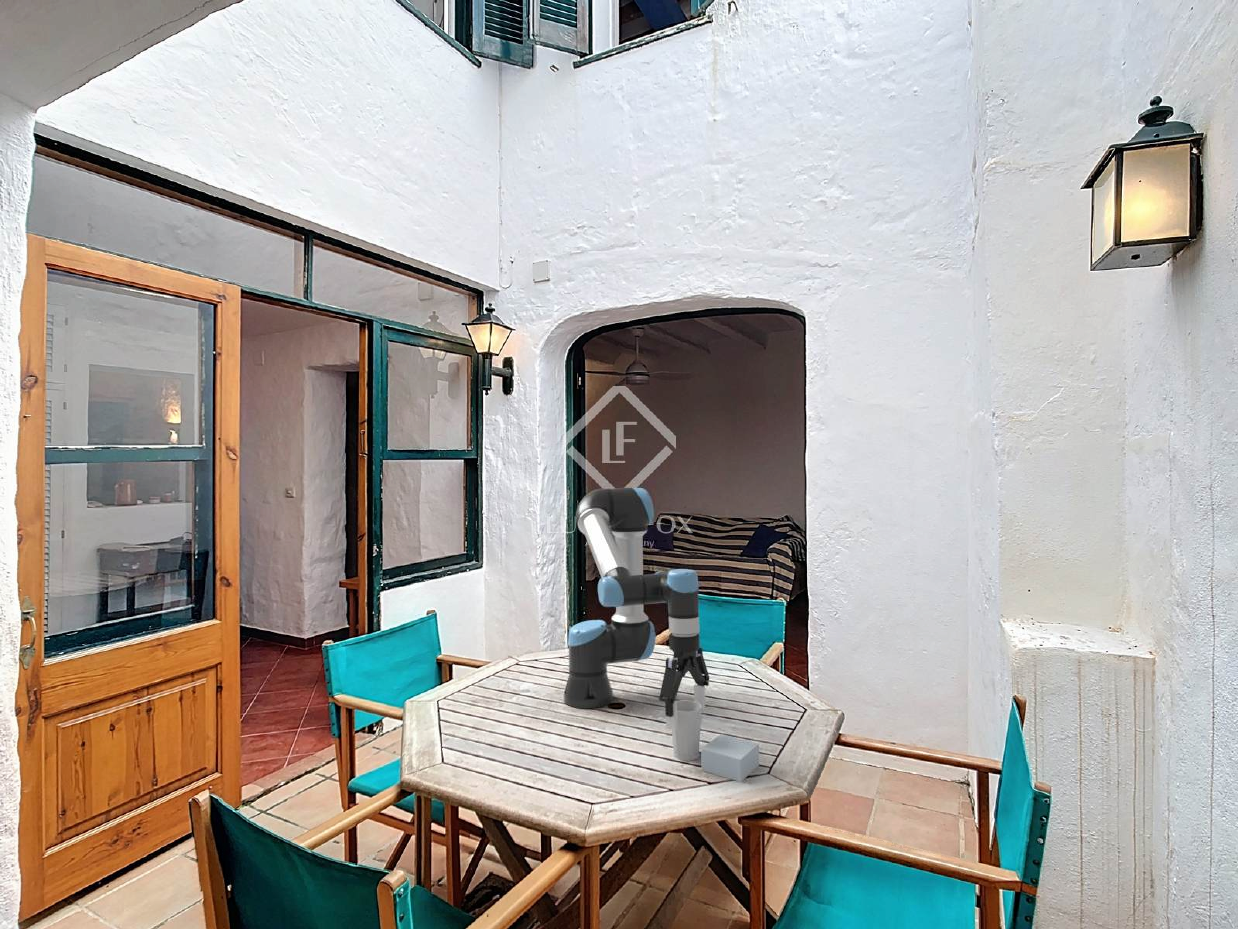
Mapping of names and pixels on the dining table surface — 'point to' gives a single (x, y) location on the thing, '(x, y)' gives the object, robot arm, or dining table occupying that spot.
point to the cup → (687, 730)
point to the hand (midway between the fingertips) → (686, 720)
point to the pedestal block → (730, 757)
